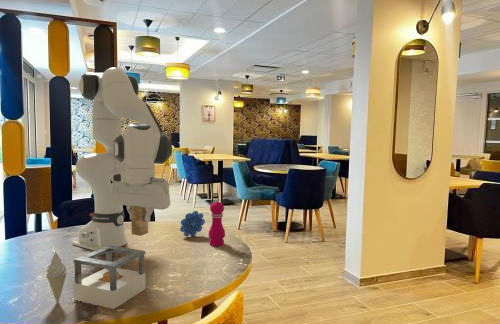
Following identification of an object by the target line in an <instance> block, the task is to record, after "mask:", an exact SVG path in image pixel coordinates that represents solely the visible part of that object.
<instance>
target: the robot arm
mask: <svg viewBox="0 0 500 324" xmlns="http://www.w3.org/2000/svg"><path fill="white" fill-rule="evenodd" d="M139 87H140V86H139V81H138V79H137V78H136V77H135V76H134V75H133V76H132V75H129V74H127V73H126V72H125V71H124V70H123V69H121V68H118V67H110V68H107V69H106V70H104V71H103V72H84V73H83V74H82V75H81V76H80V79H79V83H78V89H79V92H80V94H81V96H82V97H83V99H85V100H90V101H93V102H92V103H93V105H92V136H93V139H94V140H95V141H96V142H97V143H98V144H101V145H103V147H104V150H105V152H102V153H101V152H100V153H98V152H97V153H94V152H93V153H89V154H85V155H82V156H80V157H79V158H78V159H77V161H76V163H75V170H76V173H77V175H78V176H79V178H80V179H82V180H83V181H85V182H86V183H87V184H88V185H89V187H90V189H91V190H92V194H93V200H94V211H93V212H92V213H90V214H89V217H91V220H90V221H89V222H87V223H86V224H85V225H84V226H82V227H81V228H80V230H79V232H78V238H77V239H75V240H73V241H72V245H73V246H77V247H81V248H84V249H88V250H91V251H95V250H98V249H100V248H103V247H105V246H108V245H110V246H117V247H123V246H125V245H127V243H128V241H127V237H126V232H125V226H124V221H125V220H124V219H125V211H124V208H123V207H124V206H126V211H127V213H128V214H129V220H130V221H131V206H138V207H143V208H146V211H147V213H146V215H145V216H143V222H148V223H149V222H150V221H151V216H152V214H153V212H154V210H161V211H164V210H167V209H169V207H170V206H171V196H170V183H169V182H168V181H167V180H166V179H165V178H163V177H161V178H158V177H155V175H156V174H155V168H156V167H155V164H159V165H161V164H162V165H163V164H165V163H166V162H168V160H169V159H170V158H171V156H172V153H173V145H172V142H171V139H169V137H168V135H167V134H166V133H165V131H164V130H163V129H162V126H161V124H160V123H159V121H158V120H157V117H156V116H155V114H154V112H153V109H151V107H150V105H149V104H148V103H147V102H145V101H143V100H142V99H141V98H140V97H139V92H140V91H139V90H140V88H139ZM121 118H124V119H128V120H131V121H135V122H133V123H129V124H127V125H126V127H125V132H124V133H123V134H122V119H121Z"/></svg>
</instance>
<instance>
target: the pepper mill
mask: <svg viewBox="0 0 500 324" xmlns="http://www.w3.org/2000/svg"><path fill="white" fill-rule="evenodd" d="M214 201H215V202H211V205H210V206H209V210H210V212H211V213H210V215H211V216H210V217H211V221H212V222H211V226H210V227H209V231H208V238H209V246H211V247H221V246H224V244H225V240H224V239H225V237H226V230H225V228H224V225H223V222H222V221H223V220H222V219H223V217H224V216H223V215H224V210H225V206H224V204H223V203H222V202H220V199H219V198H215V200H214Z"/></svg>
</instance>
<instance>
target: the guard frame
mask: <svg viewBox="0 0 500 324" xmlns="http://www.w3.org/2000/svg"><path fill="white" fill-rule="evenodd" d="M113 253H116V254H120V255H121V254H123V255H124V256H122V257H120V258H119V259H116V260H113V257H112V254H113ZM102 255H105V260H102V259H96V258H98V257H100V256H102ZM145 255H146V250H142V249H138V248H137V249H136V248H130V247H123V246H120V247H117V246H110V245H108V246H105V247H103V248H100V249H98V250H92V251H91V252H88V253H86V254H83V255H81V256H78V257H76V258H73V259H72V260H73V264H74V283H77V284H79V283H81V282H82V279H83V278H82V265H83V266H89V267H95V268H101V269H110V290H111V291H115V290H116V289H117V275H116V268H120V267H122V266H124V265H126V264H128V263H130V262H132V261H134V260H136V259H138V272H139V274H144V273H145ZM112 260H113V261H112Z"/></svg>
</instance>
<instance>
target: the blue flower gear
mask: <svg viewBox="0 0 500 324" xmlns="http://www.w3.org/2000/svg"><path fill="white" fill-rule="evenodd" d="M184 217H185V218H183V219H181V221H180V225H181V226H180V228H179V230H180V232H181V233H183V236H184V237H189V236H191V237H195V236H196V235H197V233H200V232H201V231H203V227H202V226H204V225H205V224H206V223H205V219H204V214H203V213H202V212H200V213H199V212H198V210H193V211H192V213H191V212H188V213H186V214H185V216H184Z"/></svg>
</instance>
